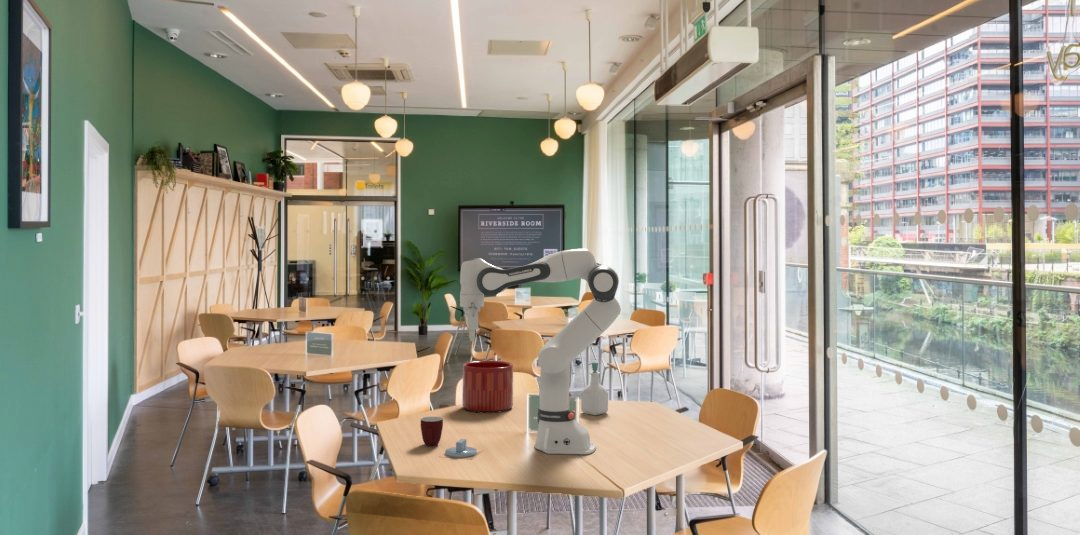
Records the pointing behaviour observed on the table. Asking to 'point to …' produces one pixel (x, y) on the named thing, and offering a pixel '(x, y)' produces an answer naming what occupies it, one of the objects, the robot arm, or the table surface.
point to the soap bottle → (594, 395)
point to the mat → (462, 458)
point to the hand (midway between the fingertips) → (471, 339)
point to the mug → (431, 430)
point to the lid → (461, 450)
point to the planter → (487, 386)
